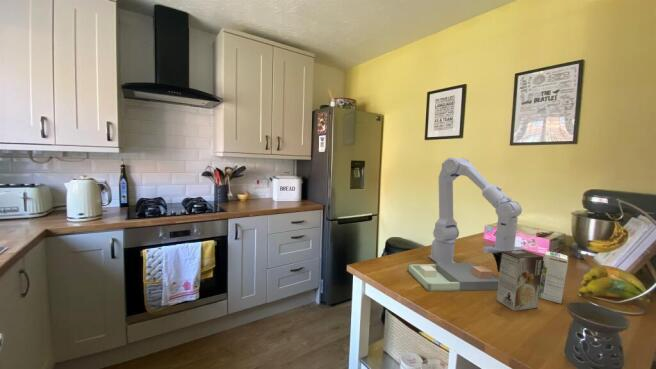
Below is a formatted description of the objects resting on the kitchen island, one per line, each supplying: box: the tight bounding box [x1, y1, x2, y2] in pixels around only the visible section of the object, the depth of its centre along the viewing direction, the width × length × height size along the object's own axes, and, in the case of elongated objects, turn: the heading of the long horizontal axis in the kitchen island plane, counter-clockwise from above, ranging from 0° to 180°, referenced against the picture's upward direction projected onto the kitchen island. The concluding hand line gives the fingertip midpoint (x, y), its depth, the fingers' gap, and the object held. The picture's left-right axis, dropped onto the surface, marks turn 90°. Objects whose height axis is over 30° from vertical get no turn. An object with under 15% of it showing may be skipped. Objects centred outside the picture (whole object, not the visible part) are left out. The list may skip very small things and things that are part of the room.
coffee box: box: [496, 249, 544, 312], centre depth 83 cm, size 9×6×16 cm
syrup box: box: [539, 250, 569, 305], centre depth 88 cm, size 6×6×14 cm
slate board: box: [434, 262, 499, 292], centre depth 100 cm, size 16×16×3 cm
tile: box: [419, 266, 437, 277], centre depth 101 cm, size 4×4×2 cm
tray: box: [407, 263, 460, 292], centre depth 98 cm, size 16×11×2 cm
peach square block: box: [471, 265, 493, 279], centre depth 96 cm, size 4×4×2 cm
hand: (501, 272), depth 97 cm, fingers closed
